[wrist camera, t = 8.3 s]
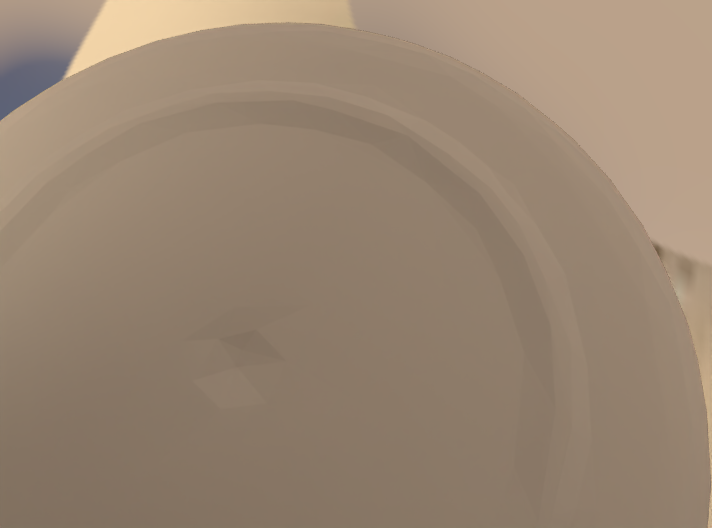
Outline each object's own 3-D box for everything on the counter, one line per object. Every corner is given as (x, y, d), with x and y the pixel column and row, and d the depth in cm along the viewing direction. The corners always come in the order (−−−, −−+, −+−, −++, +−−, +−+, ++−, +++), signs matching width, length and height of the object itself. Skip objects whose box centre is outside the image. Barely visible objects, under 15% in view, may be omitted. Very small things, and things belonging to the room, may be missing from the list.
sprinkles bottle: (261, 393, 16) (-221, 97, 3) (408, 349, 16) (510, -88, 3) (298, 562, 14) (-399, 1372, 1) (461, 509, 14) (1039, 817, 2)
